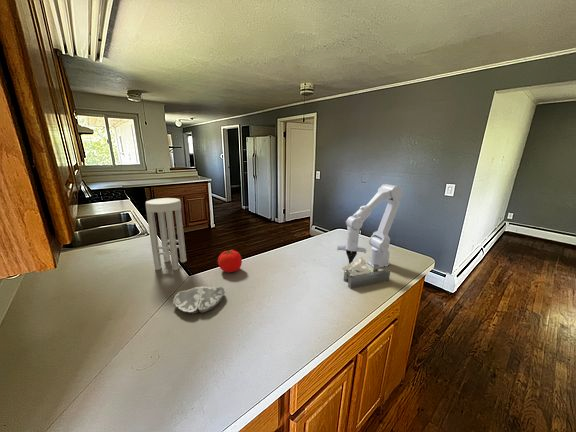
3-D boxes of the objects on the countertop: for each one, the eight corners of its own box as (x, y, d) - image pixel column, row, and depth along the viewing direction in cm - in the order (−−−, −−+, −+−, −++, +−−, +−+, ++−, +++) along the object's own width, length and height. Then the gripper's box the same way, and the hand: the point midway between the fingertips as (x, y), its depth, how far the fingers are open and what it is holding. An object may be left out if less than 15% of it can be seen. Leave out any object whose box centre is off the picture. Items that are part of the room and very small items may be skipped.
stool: (179, 272, 120) (171, 204, 111) (148, 271, 120) (138, 203, 111) (191, 258, 135) (185, 198, 126) (164, 258, 135) (156, 197, 126)
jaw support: (364, 279, 110) (353, 260, 113) (352, 285, 116) (341, 268, 119) (377, 271, 118) (366, 254, 121) (365, 278, 124) (355, 261, 127)
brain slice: (169, 322, 86) (168, 315, 85) (177, 295, 101) (176, 289, 101) (225, 313, 91) (225, 307, 90) (224, 289, 106) (224, 283, 106)
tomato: (244, 266, 127) (244, 246, 124) (238, 277, 116) (237, 256, 113) (223, 264, 128) (222, 245, 125) (214, 275, 117) (213, 254, 114)
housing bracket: (377, 272, 123) (378, 263, 121) (388, 280, 115) (390, 271, 114) (340, 279, 115) (341, 270, 114) (350, 288, 108) (351, 279, 106)
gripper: (366, 238, 125) (363, 261, 128) (338, 235, 127) (336, 259, 131) (367, 242, 118) (365, 267, 121) (338, 240, 121) (336, 264, 124)
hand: (350, 263), depth 126 cm, fingers closed
